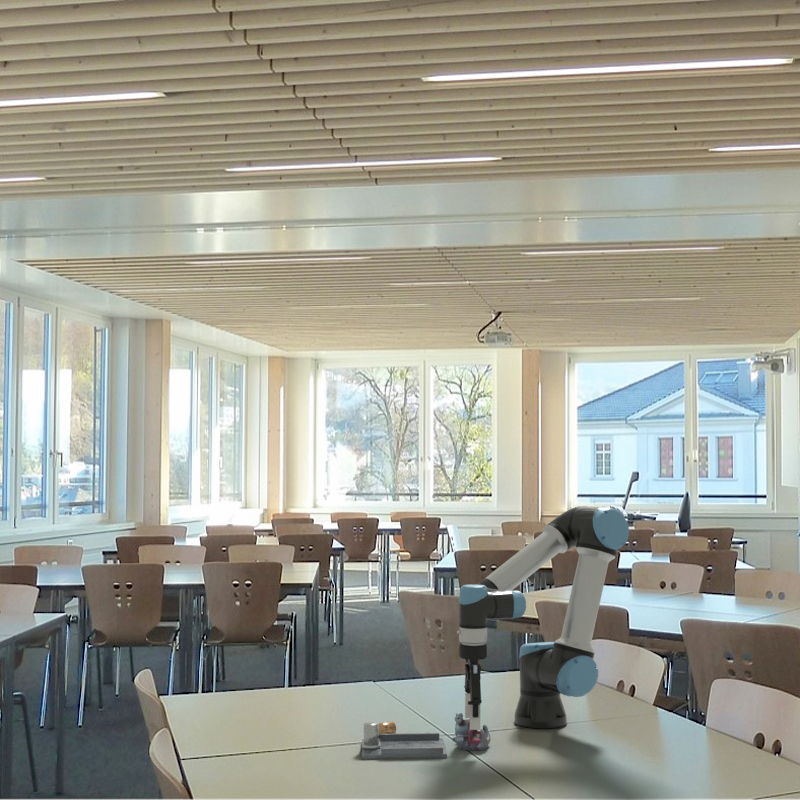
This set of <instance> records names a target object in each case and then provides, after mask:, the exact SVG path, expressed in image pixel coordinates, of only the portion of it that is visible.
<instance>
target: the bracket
mask: <svg viewBox="0 0 800 800" xmlns="http://www.w3.org/2000/svg"><path fill="white" fill-rule="evenodd" d="M447 758H448V751H447V750H446V745H445V742H444V739H443V738H441V737H440V732H415V733H412V732H411V733H409V732H408V733H404V732H402V733H401V732H400V733H399V732H398V733H397V732H396V733H395V734H380V737H379V723H378V722H375V721H371V722H369V721H368V722H365V723H363V739H361V760H392V759H393V760H394V759H396V760H397V759H398V760H399V759H400V760H403V759H409V760H410V759H447Z"/></svg>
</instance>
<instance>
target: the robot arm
mask: <svg viewBox="0 0 800 800" xmlns="http://www.w3.org/2000/svg"><path fill="white" fill-rule="evenodd" d="M629 535H630V527H629V523H628V521H627V519H626V517H625V515H624V514H623V513H622V512H621V511H619V510H618V509H616V508H613V507H607V506H587V505H579V506H578V505H577V506H575V507H572V508H570V509H568V510H566V511H565V512H563V513H561V514H560V515H558V516H556V517H555V518H554V519H553V520H551V521H550V522H549V523H548V524H545V526H544V527H543V529H542V533H540V534H539V535H538V536H536V537H535V538H534V539H533V540H531V541H530V542H529V543H528V544H526V545H525V546H524V547H523V548H522V549H520V550H519V551H518V552H516V553H515V554H513V556H511V557H510V558H509V559H507V560H506V561H505V562H504V563H503V564H501V565H500V566H499V567H498V568H497V567H496V569H495V570H494V571H492V572H491V573H489V575H487V576H486V577H485V578H483V579H482V580H481V581H480V582H478V583H476V584H463V585H462V586H461V587H460V588H459V595H458V596H459V598H458V615H459V616H458V621H459V622H458V624H459V625H458V626H459V628H458V629H459V630H457V631H456V634H457V635H458V636H459V637H458V641H459V644H458V657H459V658H460V659H462V660H465V664H464V673H465V675H464V677H465V678H464V686H463V687H464V692H465V693H464V696H465V698H464V699H465V700H464V718H465V719H470V730H478V731H480V730H481V705H482V692H481V691H482V689H481V680H482V679H481V678H482V677H481V671H482V666H481V665H480V664H479V660H485V659H486V658H487V656H488V646H487V644H486V643H487V642H488V621H491V620H507V619H509V620H510V619H511V620H513V619H518V618H521V617H523V615H525V613H526V611H527V600H526V597H525V595H524V594H523V593H522V591H520V590H515V588H517V587H518V586H519V585H520V584H522V583H523V582H524V581H526V580H527V579H528V578H529V577H531V575H533V574H535V573H536V572H537V571H538V570H539V569H541V568H542V567H543V566H544V565H545V564H547V563H548V562H549V561H551V560H552V559H553V558H554V557H555V556H556V555H558V554H559V553H560V554H565V553H566V552H567V551H569V550H570V549H572V548H575V550H576V552H577V554H578V559H577V564H576V569H575V573H574V578H573V582H572V587H571V590H570V594H569V595H570V596H569V600H568V604H567V608H566V612H565V617H564V621H563V626H562V631H561V634H560V635H561V636H560V637H559V638H558V639H556V640H555V641H541V642H530V643H524V644H522V645H521V646H520V647H519V656H518V659H519V690H520V691H519V698H518V701H517V704H516V709H515V712H514V723H515V724H516V725H518V726H521V727H525V728H532V729H555V728H561V727H564V726H565V725H567V721H568V720H567V713H566V712H567V711H566V709H565V707H564V704H563V700H562V697H561V695H563V696H566V697H573V698H581V697H584V696H586V695H587V694H588V693H591V691H592V690H593V689H594V687H595V686H596V684H597V681H598V679H599V667H597V666H598V665H597V663H596V661H595V660H594V657H595V650H594V648H593V647H592V641H593V636H594V632H595V626H596V623H597V617H598V614H599V607H600V605H601V599H602V595H603V594H602V593H603V590H604V586H605V581H606V576H607V571H608V567H609V563H610V562H611V561H613V560H614V559H616V556H617V552H618V550H619V549H621V548H623V546H625V544H626V543H627V542H628V539H629Z"/></svg>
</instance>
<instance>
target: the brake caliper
mask: <svg viewBox="0 0 800 800" xmlns="http://www.w3.org/2000/svg"><path fill="white" fill-rule="evenodd" d="M463 717H464V714H463V713H462V712H461V713H455V717H454V721H455V727H454V735H455V737H453V738H451V740H452V741H453V742H455V743H456V744H457V746H458V747H460V748H461V750H463V751H485V750H486V749H487V747H488V746H489V744H490V742H491V741H492V740H491V739H492V738H491V734H490V731H489V728H488V726H487V725H486V724H483V725H482V728H480V730H470V718H467V719H464V718H463Z"/></svg>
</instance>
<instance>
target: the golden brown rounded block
mask: <svg viewBox="0 0 800 800" xmlns="http://www.w3.org/2000/svg"><path fill="white" fill-rule="evenodd" d="M396 733H397V725H396V723H395V722H394V721H393V720H392V721H386V722H380V723H379V738H380V734H396Z"/></svg>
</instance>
